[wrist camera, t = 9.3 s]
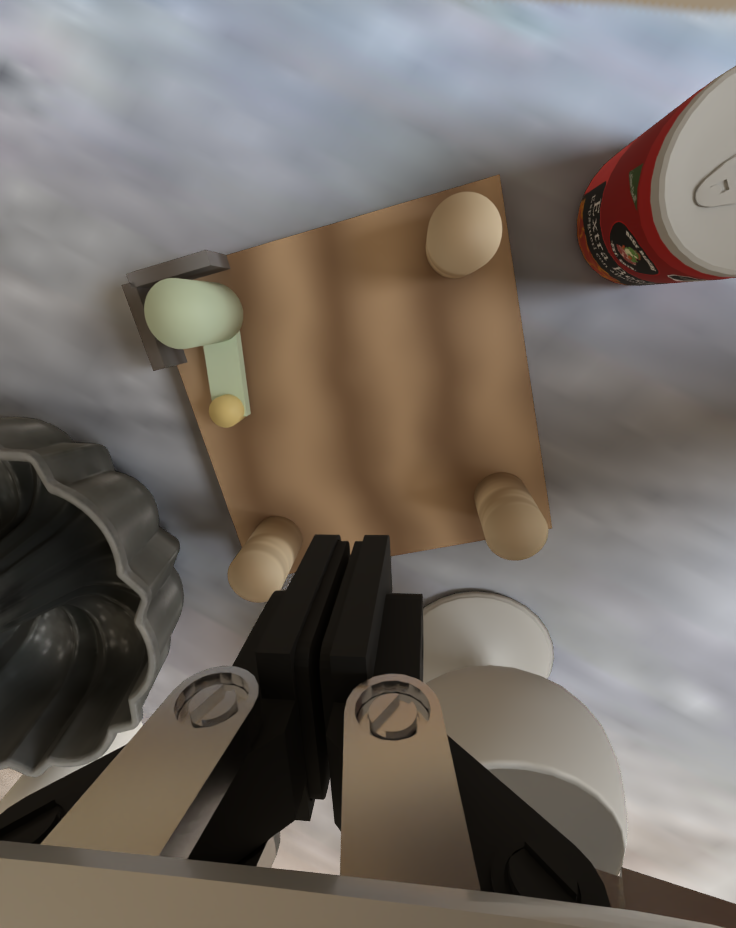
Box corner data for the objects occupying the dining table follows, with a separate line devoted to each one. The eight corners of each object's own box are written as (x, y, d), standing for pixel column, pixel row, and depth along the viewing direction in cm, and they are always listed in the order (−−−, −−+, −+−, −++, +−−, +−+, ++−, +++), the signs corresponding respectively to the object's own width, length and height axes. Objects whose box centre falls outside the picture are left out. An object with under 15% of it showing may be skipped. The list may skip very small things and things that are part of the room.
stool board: (493, 183, 29) (519, 142, 22) (544, 516, 35) (577, 570, 28) (162, 280, 32) (90, 273, 25) (261, 566, 38) (226, 625, 31)
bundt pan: (-151, 490, 40) (-326, 547, 31) (67, 314, 34) (-69, 317, 24) (60, 714, 46) (-32, 820, 36) (282, 600, 39) (239, 692, 30)
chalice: (518, 549, 36) (583, 709, 22) (592, 687, 39) (692, 905, 25) (357, 620, 39) (323, 799, 25) (438, 741, 42) (448, 962, 28)
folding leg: (261, 420, 32) (229, 444, 27) (210, 422, 33) (169, 446, 27) (243, 281, 30) (204, 275, 24) (189, 284, 30) (137, 280, 24)
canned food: (546, 213, 29) (618, 161, 18) (669, 106, 27) (830, -21, 16) (617, 314, 30) (722, 320, 20) (741, 221, 28) (930, 171, 18)
